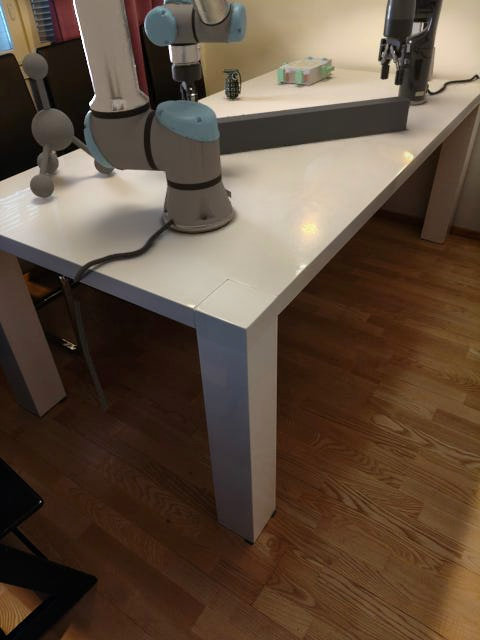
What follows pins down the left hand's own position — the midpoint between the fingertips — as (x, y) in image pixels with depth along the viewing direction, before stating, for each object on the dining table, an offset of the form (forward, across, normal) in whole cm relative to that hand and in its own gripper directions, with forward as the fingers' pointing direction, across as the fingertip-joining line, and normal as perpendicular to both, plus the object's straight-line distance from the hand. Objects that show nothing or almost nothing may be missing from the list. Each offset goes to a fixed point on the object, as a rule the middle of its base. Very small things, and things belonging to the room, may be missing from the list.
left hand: (195, 152), depth 139 cm
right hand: (-13, 0, -59) cm, 60 cm away
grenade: (+1, +56, -24) cm, 61 cm away
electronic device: (+1, +54, -99) cm, 112 cm away
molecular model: (+1, -8, +33) cm, 34 cm away
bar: (+1, 0, -29) cm, 29 cm away
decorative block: (+1, +75, -60) cm, 96 cm away
